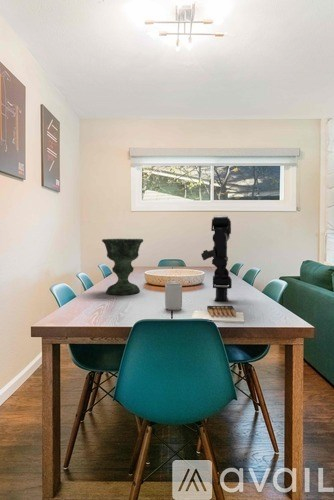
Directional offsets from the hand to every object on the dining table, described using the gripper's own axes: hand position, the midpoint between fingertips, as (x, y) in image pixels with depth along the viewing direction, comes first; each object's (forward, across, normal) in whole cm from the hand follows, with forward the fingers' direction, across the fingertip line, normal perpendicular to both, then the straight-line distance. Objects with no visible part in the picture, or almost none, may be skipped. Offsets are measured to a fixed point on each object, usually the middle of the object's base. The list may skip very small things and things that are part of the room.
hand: (220, 278), depth 149 cm
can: (+13, +7, -20) cm, 25 cm away
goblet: (+13, -26, -55) cm, 62 cm away
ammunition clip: (+11, +8, 0) cm, 14 cm away
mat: (+13, +17, 0) cm, 21 cm away
